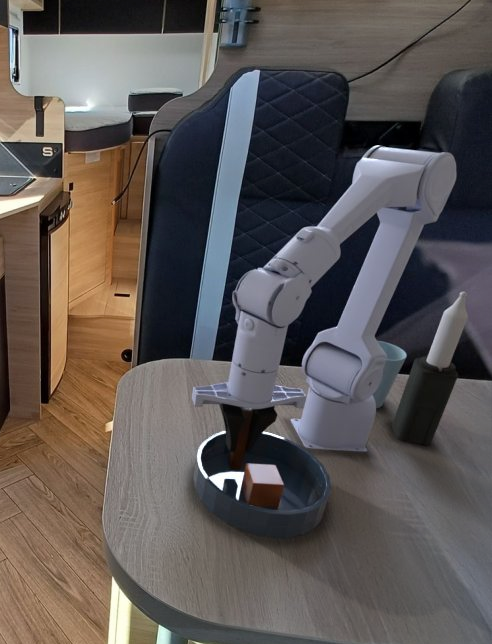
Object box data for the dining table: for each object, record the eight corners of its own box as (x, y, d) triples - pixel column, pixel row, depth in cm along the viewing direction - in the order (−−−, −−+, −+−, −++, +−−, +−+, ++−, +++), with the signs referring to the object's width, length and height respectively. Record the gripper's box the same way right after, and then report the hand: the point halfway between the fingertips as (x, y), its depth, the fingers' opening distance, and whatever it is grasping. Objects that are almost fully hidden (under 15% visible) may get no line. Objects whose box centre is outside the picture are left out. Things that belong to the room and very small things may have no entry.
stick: (238, 463, 75) (250, 404, 70) (241, 470, 73) (253, 411, 69) (227, 462, 75) (238, 404, 70) (230, 470, 73) (241, 411, 69)
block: (270, 487, 72) (275, 464, 70) (278, 508, 69) (284, 485, 67) (241, 485, 72) (245, 463, 71) (247, 506, 69) (253, 483, 67)
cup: (358, 385, 99) (373, 336, 94) (398, 405, 93) (416, 353, 88) (332, 395, 95) (347, 345, 91) (372, 416, 89) (390, 364, 85)
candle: (424, 429, 86) (478, 288, 75) (432, 447, 82) (491, 300, 71) (390, 422, 88) (438, 283, 77) (396, 440, 83) (448, 295, 72)
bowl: (298, 456, 79) (304, 432, 77) (343, 545, 64) (353, 518, 62) (185, 449, 80) (188, 426, 78) (203, 536, 65) (208, 509, 63)
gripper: (299, 348, 70) (279, 431, 76) (192, 347, 70) (181, 429, 76) (322, 375, 64) (298, 462, 70) (204, 373, 64) (191, 460, 70)
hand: (238, 447), depth 72 cm, fingers closed on stick, 1 cm apart
